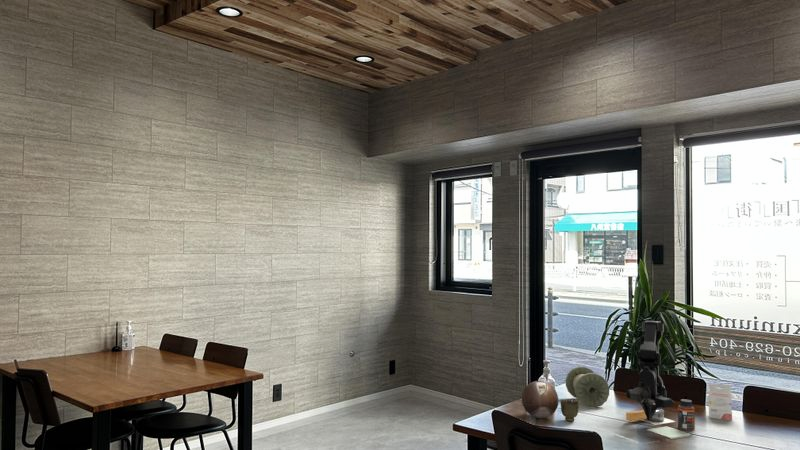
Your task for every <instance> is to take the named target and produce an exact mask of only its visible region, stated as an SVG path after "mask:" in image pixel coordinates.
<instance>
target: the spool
mask: <svg viewBox="0 0 800 450" xmlns="http://www.w3.org/2000/svg"><path fill="white" fill-rule="evenodd" d="M565 388H566V390H567V392H568V393H569V394H570V395H571V396H572V397H573V398H575V399H577V401H578V402H579V404H581V405H582V406H584V407H587V408H589V407H590V408H592V409H593V408H594V409H595V408H599V407H601V406H603V405H604V404H605V403H607V400H608V399H609V396H610V386H609V384H608V381H607V380H606V379H605V378H604V377H603V376H602V375H600V374H598V373H595V372H594V371H593V370H592V369H591V368H588V367H586V366H577V367H573V368H571V370H570V371H569V372H568V373H567V375H566V378H565Z"/></svg>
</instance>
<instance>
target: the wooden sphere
mask: <svg viewBox="0 0 800 450" xmlns="http://www.w3.org/2000/svg"><path fill="white" fill-rule="evenodd" d="M521 393H522V394H521V403H522V406H523V409H524V410H525V411H526V412H527V413H528V414H529V415H530V416H532V417H534V418H537V419H545V418H548V417H551V416H552V415H553V414H555V412H556V410H557V409H558V408H559V407H558V406H559V402H560V401H559V395H558V392H557V390H556V389H555V388H554V386H553V385H551V384H550V383H548V382H546V381H544V380H543V381H542V380H535V381H532V382H530V383H528V384H527V385H526V386H525V387H524V388H523V391H522V392H521Z"/></svg>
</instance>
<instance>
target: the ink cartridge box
mask: <svg viewBox="0 0 800 450" xmlns="http://www.w3.org/2000/svg"><path fill="white" fill-rule="evenodd" d="M719 387H721V388H719ZM731 387H732V386H731V385H730V384H723V383H711V382H710V383H708V390H707V391H708V393H707V394H708V417H709V418H710V419H711V418H713V419H719V420H727V421H731V420H732V421H733V408H732V406H733V405H732V391H731Z"/></svg>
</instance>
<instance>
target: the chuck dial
mask: <svg viewBox="0 0 800 450" xmlns="http://www.w3.org/2000/svg"><path fill="white" fill-rule="evenodd" d="M664 411H665V409H663V408H662V409H660V408H657V409H656V411H655V413H654V415H653V417H652V419H651V420H647V417H646V414H645V412H644V409H643V408H642V409H640V410H633V411H627V412H625V413H626V416H625V417H626V418H625V420H626V421H628V422H636V421H641V420H643V419H644V420H647V421H651V422H663V421H664V418H665V412H664Z"/></svg>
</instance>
